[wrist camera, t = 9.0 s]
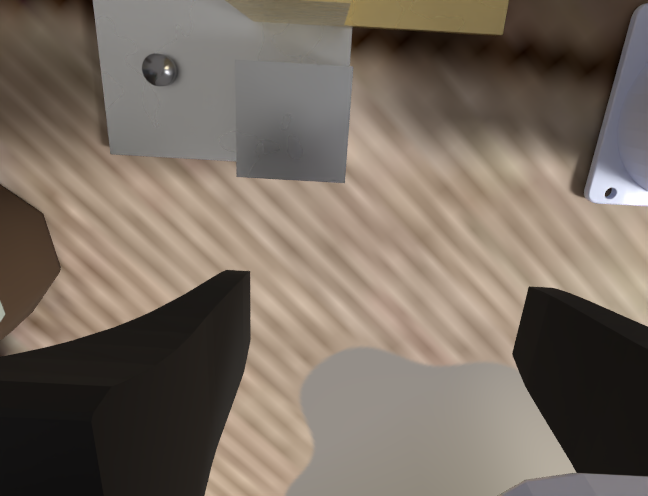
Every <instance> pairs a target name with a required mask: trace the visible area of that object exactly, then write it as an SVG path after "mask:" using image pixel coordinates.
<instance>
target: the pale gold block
mask: <svg viewBox="0 0 648 496" xmlns="http://www.w3.org/2000/svg"><path fill="white" fill-rule="evenodd" d="M225 1H226V2H228V3H229V4H231V5H232V6H233V7H235V8H236V9H237V10H239V11H240V12H241V13H243V14H244V15H246V16H247V17H248V18H250V19H251V20H252V21H255V22H271V23H288V24H304V25H321V26H337V27H354V28H370V29H387V30H403V31H420V32H437V33H453V34H470V35H486V36H500V35H503V30H504V25H505V19H506V13H507V8H508V2H509V0H225Z"/></svg>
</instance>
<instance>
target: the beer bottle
mask: <svg viewBox="0 0 648 496" xmlns="http://www.w3.org/2000/svg"><path fill="white" fill-rule="evenodd" d="M60 268H61V267H60V264H59V261H58V258H57V255H56V252H55V248H54V245H53V242H52V239H51V236H50V233H49V230H48V227H47V224H46V221H45V218H44V215H43V214H42V213H41V212H40V211H38V210H37V209H35V208H34V207H32V206H31V205H29V204H28V203H26V202H25V201H23V200H22V199H20V198H19V197H18V196H16V195H15V194H13V193H12V192H10V191H9V190H7V189H6V188H4V187H3V186H1V185H0V340H2V339H3V338H4V337H5V336H7V335H8V334H9V333H10V332H11V331H13V330H14V329H15V328H16V327H17V326H18V325H19V324H20V323H21V322H22V321H23V320H24V319H25V318H27V317H28V316H29V315H30V314H31V313H32V312H33V311H34V309H35V308H36V306H37V305H38V303H39V302H40V300H41V299H42V297H43V296H44V294H45V293H46V292H47V290H48V289H49V287H50V286H51V284H52V283H53V281H54V280H55V278H56V277H57V275H58V274H59V272H60Z"/></svg>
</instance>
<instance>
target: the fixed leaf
mask: <svg viewBox="0 0 648 496" xmlns="http://www.w3.org/2000/svg"><path fill="white" fill-rule="evenodd" d="M93 7H94V15H95V24H96V33H97V41H98V50H99V58H100V67H101V76H102V84H103V93H104V102H105V110H106V119H107V127H108V136H109V145H110V153H111V154H116V155H134V156H151V157H168V158H186V159H203V160H220V161H236V167H237V177H248V178H266V179H283V180H301V181H318V182H336V183H345V173H346V159H347V146H348V132H349V119H350V105H351V91H352V78H353V67H352V66H350V53H351V39H352V27H337V26H321V25H304V24H288V23H271V22H255V21H252V20H251V19H250V18H248V17H247V16H246V15H244V14H243V13H241V12H240V11H239V10H237V9H236V8H235V7H233V6H232V5H231V4H229V3H228V2H226V1H225V0H93Z"/></svg>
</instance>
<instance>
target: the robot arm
mask: <svg viewBox="0 0 648 496" xmlns="http://www.w3.org/2000/svg"><path fill="white" fill-rule="evenodd" d="M609 188H612V192H611V193H610V195H608V196H607V197H605V192H606V190H607V189H609ZM584 196H585V198H586V199H587V200H588V201H590V202H593V203H599V204H616V205H634V206H648V3H646V4H642V5H641V6H639V7H638V8H637V9H636V10H635V11H634V13H633V15H632V17H631V21H630V24H629V28H628V32H627V35H626V39H625V43H624V46H623V50H622V54H621V57H620V61H619V65H618V68H617V72H616V76H615V79H614V83H613V87H612V90H611V94H610V98H609V101H608V105H607V109H606V112H605V116H604V120H603V123H602V127H601V131H600V134H599V138H598V142H597V145H596V149H595V153H594V156H593V160H592V164H591V168H590V171H589V175H588V179H587V182H586V186H585V190H584ZM249 345H250V271H235V270H225V271H223V272H221V273H219V274H217V275H216V276H214V277H212V278H211V279H209V280H207V281H206V282H204V283H203V284H201V285H199V286H198V287H196V288H194V289H193V290H191V291H189V292H188V293H186V294H184V295H182V296H181V297H179V298H177V299H175V300H173V301H171V302H169V303H167V304H165V305H164V306H162V307H160V308H158V309H156V310H154V311H152V312H150V313H148V314H145V315H143V316H141V317H139V318H136V319H134V320H131V321H129V322H126V323H124V324H121V325H119V326H116V327H114V328H111V329H108V330H105V331H101V332H98V333H95V334H92V335H89V336H86V337H82V338H79V339H76V340H73V341H69V342H66V343H62V344H58V345H54V346H50V347H46V348H41V349H37V350H32V351H27V352H23V353H18V354H13V355H7V356H2V357H0V496H204V495H205V491H206V486H207V482H208V478H209V474H210V470H211V466H212V462H213V459H214V456H215V452H216V449H217V446H218V443H219V440H220V437H221V435H222V432H223V429H224V426H225V423H226V421H227V418H228V415H229V412H230V410H231V407H232V404H233V401H234V399H235V396H236V393H237V390H238V387H239V384H240V382H241V379H242V376H243V373H244V369H245V364H246V360H247V355H248V350H249ZM512 354H513V357H514V360H515V362H516V365H517V368H518V370H519V373H520V375H521V377H522V379H523V382H524V384H525V386H526V388H527V390H528V392H529V394H530V395H531V397H532V399H533V400H534V402H535V404H536V405H537V407H538V409H539V410H540V412H541V414H542V416H543V417H544V419H545V420H546V422H547V424H548V425H549V427H550V429H551V430H552V432H553V434H554V435H555V437H556V439H557V440H558V442H559V443H560V445H561V447H562V448H563V450H564V452H565V453H566V455H567V457H568V458H569V460H570V461H571V463H572V465H573V467H574V469H575V470H576V472H577V473H570V474H563V475H556V476H549V477H542V478H535V479H528V480H524V481H522V482H521V483H519V484H517V485H515V486H514V487H512V488H510V489H508V490H506V491H505V492H503V493H501V494H500V495H498V496H648V327H647V326H645V325H643V324H640V323H638V322H636V321H633V320H631V319H629V318H626V317H624V316H622V315H620V314H617V313H615V312H613V311H611V310H608V309H606V308H604V307H602V306H599V305H597V304H595V303H592V302H590V301H588V300H585V299H583V298H581V297H578V296H576V295H573V294H571V293H568V292H565V291H562V290H559V289H555V288H545V287H529V288H528V292H527V296H526V300H525V304H524V308H523V312H522V317H521V321H520V325H519V329H518V333H517V337H516V341H515V345H514V349H513V353H512Z"/></svg>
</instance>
